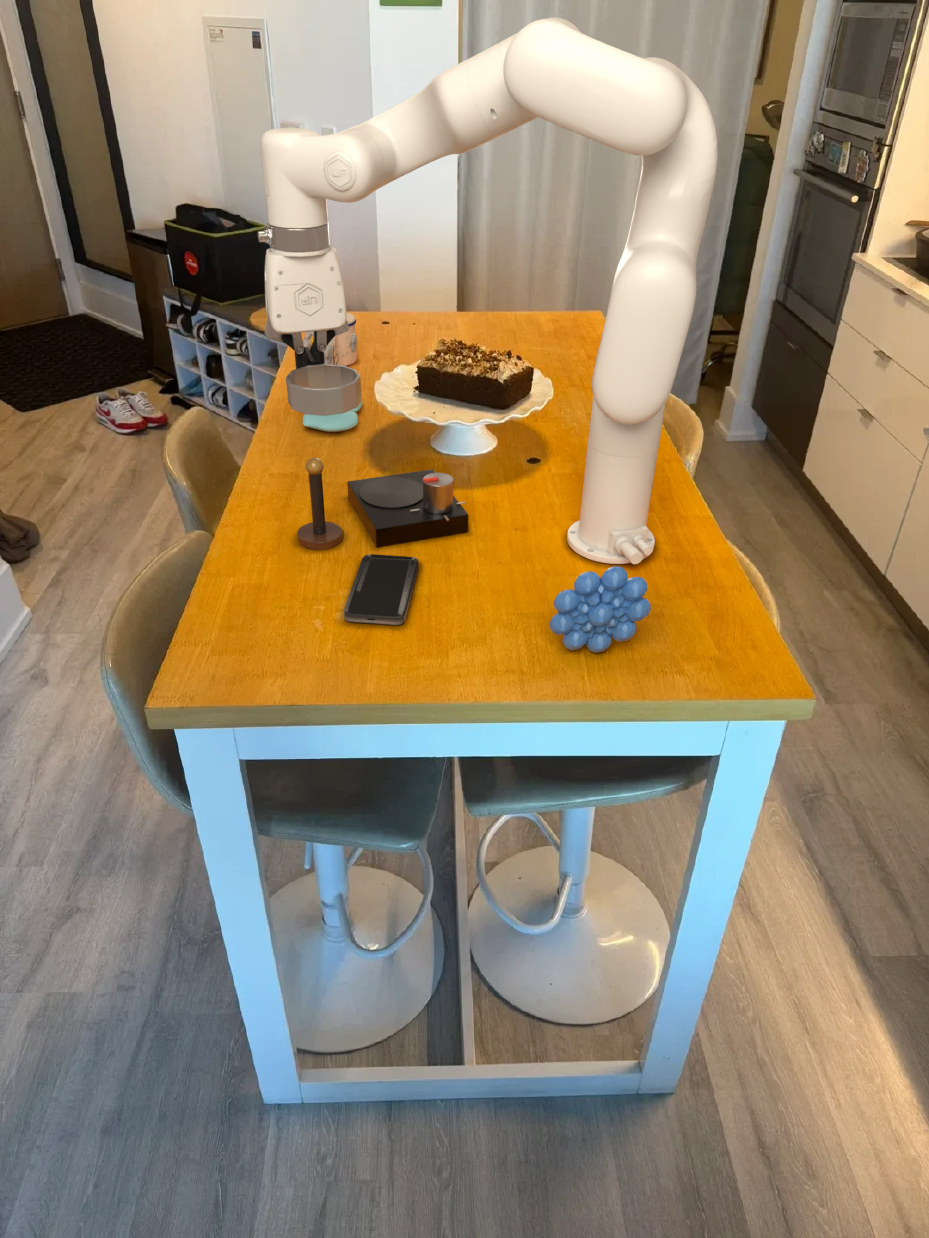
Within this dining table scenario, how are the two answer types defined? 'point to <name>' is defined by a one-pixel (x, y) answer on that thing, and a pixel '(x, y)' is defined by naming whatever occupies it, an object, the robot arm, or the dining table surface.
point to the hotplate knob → (438, 493)
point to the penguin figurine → (338, 420)
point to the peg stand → (318, 514)
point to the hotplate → (406, 516)
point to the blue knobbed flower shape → (600, 609)
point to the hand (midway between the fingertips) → (311, 377)
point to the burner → (391, 492)
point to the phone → (382, 590)
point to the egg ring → (323, 388)
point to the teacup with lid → (345, 344)
